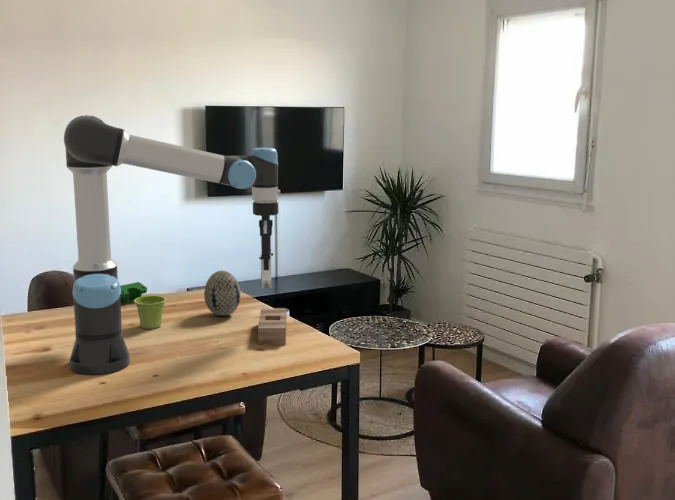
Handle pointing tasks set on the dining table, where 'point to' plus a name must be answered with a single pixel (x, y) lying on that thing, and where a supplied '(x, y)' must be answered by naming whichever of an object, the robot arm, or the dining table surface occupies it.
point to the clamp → (131, 292)
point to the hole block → (272, 327)
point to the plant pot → (150, 311)
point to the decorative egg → (222, 293)
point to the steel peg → (265, 282)
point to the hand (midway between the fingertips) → (266, 278)
